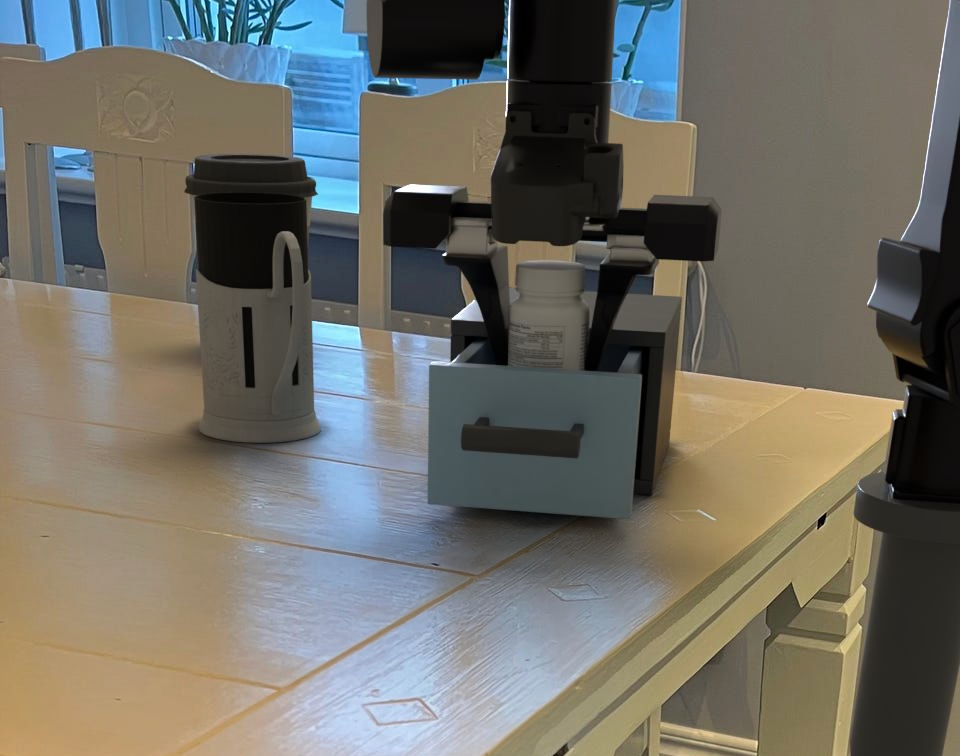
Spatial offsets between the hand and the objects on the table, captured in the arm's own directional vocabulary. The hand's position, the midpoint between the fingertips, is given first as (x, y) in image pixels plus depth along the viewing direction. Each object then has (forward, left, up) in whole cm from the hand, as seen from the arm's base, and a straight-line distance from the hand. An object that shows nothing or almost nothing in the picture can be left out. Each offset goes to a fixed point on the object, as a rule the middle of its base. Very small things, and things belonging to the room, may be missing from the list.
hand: (546, 381), depth 95 cm
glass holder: (+21, -13, -8) cm, 26 cm away
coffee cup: (+32, -46, -8) cm, 57 cm away
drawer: (0, +1, -6) cm, 6 cm away
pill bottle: (0, 0, -2) cm, 2 cm away
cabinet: (0, -12, -7) cm, 14 cm away
